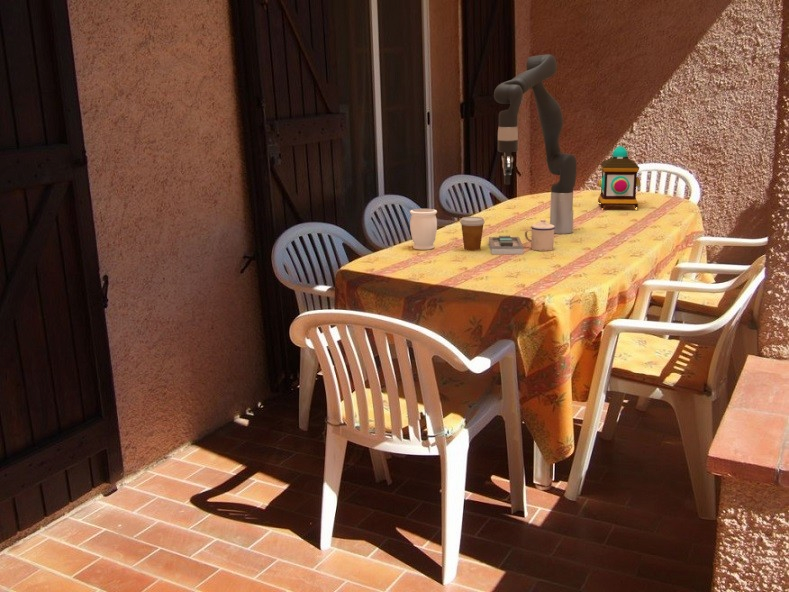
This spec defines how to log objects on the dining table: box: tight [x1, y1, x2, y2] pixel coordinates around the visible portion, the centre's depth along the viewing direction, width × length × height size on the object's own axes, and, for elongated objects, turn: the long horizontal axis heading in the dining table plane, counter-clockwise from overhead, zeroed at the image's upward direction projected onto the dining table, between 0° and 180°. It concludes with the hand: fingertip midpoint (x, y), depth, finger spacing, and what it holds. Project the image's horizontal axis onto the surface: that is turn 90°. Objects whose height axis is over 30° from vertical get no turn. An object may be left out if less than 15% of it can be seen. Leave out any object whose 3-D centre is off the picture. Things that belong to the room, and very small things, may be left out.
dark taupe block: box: [501, 241, 513, 246], centre depth 338 cm, size 4×3×2 cm
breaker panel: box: [488, 236, 524, 255], centre depth 343 cm, size 12×18×3 cm, turn 177°
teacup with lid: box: [524, 218, 555, 252], centre depth 342 cm, size 12×9×12 cm
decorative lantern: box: [597, 146, 641, 209], centre depth 428 cm, size 20×20×30 cm
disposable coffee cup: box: [459, 216, 485, 251], centre depth 343 cm, size 10×10×12 cm
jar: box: [409, 208, 438, 251], centre depth 346 cm, size 11×10×15 cm
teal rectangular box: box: [500, 238, 512, 244], centre depth 342 cm, size 4×3×2 cm
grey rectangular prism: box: [498, 235, 512, 241], centre depth 347 cm, size 4×3×2 cm
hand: (507, 184), depth 336 cm, fingers closed
